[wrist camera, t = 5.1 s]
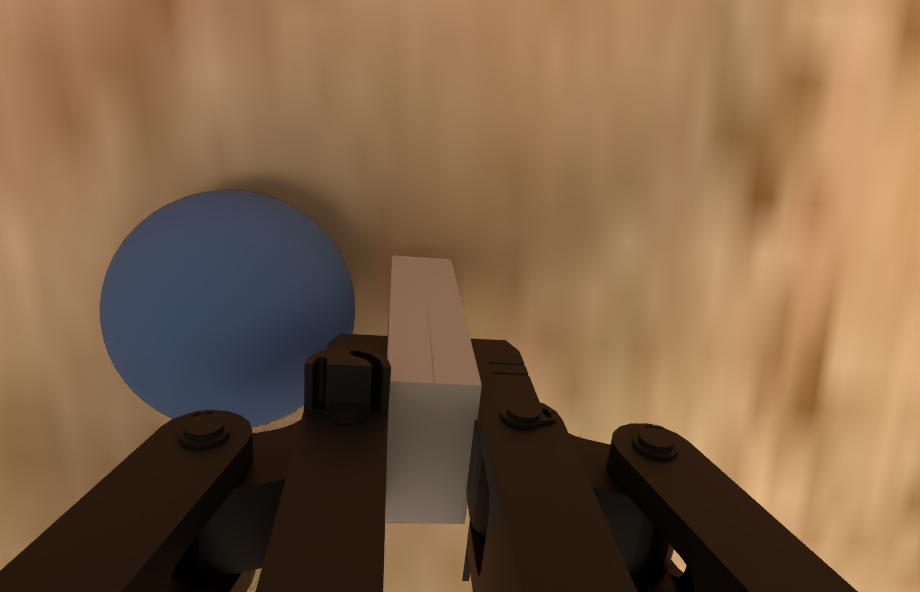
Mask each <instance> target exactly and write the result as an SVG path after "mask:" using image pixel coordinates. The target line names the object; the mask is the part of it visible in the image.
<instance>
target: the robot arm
mask: <svg viewBox="0 0 920 592" xmlns="http://www.w3.org/2000/svg"><path fill="white" fill-rule="evenodd" d="M467 502H468V508H469V515H470V524H469V532H468V540H467V548H466V555H465V563H464V571H463V579H462V581H469V577H470V573H471V581H472V589H473V592H858V591H856V590H855V589H854V588H853V587H852V586H851V585H850V584H849V583H847V582H846V581H845V580H844V579H843V578H842V577H841V576H840V575H838V574H837V573H836V572H835V571H834V570H833V569H832V568H831V567H829V566H828V565H827V564H826V563H825V562H824V561H823V560H822V559H820V558H819V557H818V556H817V555H816V554H815V553H814V552H813V551H811V550H810V549H809V548H808V547H807V546H806V545H805V544H803V543H802V542H801V541H800V540H799V539H798V538H797V537H796V536H794V535H793V534H792V533H791V532H790V531H789V530H788V529H787V528H785V527H784V526H783V525H782V524H781V523H780V522H779V521H778V520H776V519H775V518H774V517H773V516H772V515H771V514H770V513H769V512H767V511H766V510H765V509H764V508H763V507H762V506H761V505H760V504H758V503H757V502H756V501H755V500H754V499H753V498H752V497H751V496H749V495H748V494H747V493H746V492H745V491H744V490H743V489H742V488H740V487H739V486H738V485H737V484H736V483H735V482H734V481H733V480H731V479H730V478H729V477H728V476H727V475H726V474H725V473H724V472H722V471H721V470H720V469H719V468H718V467H717V466H716V465H715V464H713V463H712V462H711V461H710V460H709V459H708V458H707V457H706V456H704V455H703V454H702V453H701V452H700V451H699V450H698V449H697V448H695V447H694V446H693V445H692V444H691V443H690V442H689V441H687V440H686V439H684V438H683V437H681V436H680V435H678V434H677V433H674V432H672V431H670V430H667V429H665V428H664V427H661V426H658V425H653V424H647V423H644V424H632V423H631V424H627V425H624V426H620V427H619V428H618V429H616V430H615V431H614V432H613V435H612V440H611V444H610V445H609V444H605V443H601V442H596V441H592V440H587V439H584V438H580V437H577V436H574V435H571V434H569V433H568V431H567V429H566V427H565V425H564V422H563V420H562V418H561V417H560V416H559V415H558V413H557V412H556V411H555V410H553V409H552V408H550V407H548V406H547V405H545V404H543V403H540V402H539V399H538V397H537V394H536V392H535V389H534V387H533V384H532V382H531V379H530V377H529V376H528V372H527V369H526V367H525V366H524V362H523V359H522V357H521V354H520V352H519V351H518V350H517V349H516V348H515V347H513V346H512V345H511V344H510V343H508V342H507V341H506V340H487V339H470V335H469V331H468V327H467V323H466V319H465V315H464V311H463V306H462V302H461V298H460V294H459V290H458V286H457V282H456V278H455V274H454V269H453V265H452V261H451V259H439V258H424V257H409V256H394V255H392V266H391V282H390V298H389V314H388V330H387V336H377V335H357V334H340V335H338V336H337V337H336V338H334V339H333V340H332V341H331V342H329V343H328V345H327V349H325V350H321V351H319V352H317V353H315V354H313V355H311V356H310V357H309V358H308V359H307V361H306V362H305V363H304V412H303V416H302V419H301V420H299V421H298V422H296V423H294V424H292V425H289V426H286V427H284V428H280V429H276V430H271V431H265V432H259V433H252V428H251V425H250V422H249V421H248V420H246V419H245V418H244V417H243V416H241V415H239V414H236V413H232V412H229V411H222V410H204V411H201V410H200V411H194V412H191V413H188V414H185V415H182V416H179V417H176V418H174V419H172V420H171V421H169V422H168V423H166V424H165V425H163V426H162V427H160V428H159V429H158V430H157V431H156V432H155V433H154V434H153V435H151V436H150V437H149V438H148V439H147V440H146V441H145V442H144V443H143V444H141V445H140V446H139V447H138V448H137V449H136V450H135V451H134V452H132V453H131V454H130V455H129V456H128V457H127V458H126V459H125V460H124V461H122V462H121V463H120V464H119V465H118V466H117V467H116V468H115V469H113V470H112V471H111V472H110V473H109V474H108V475H107V476H106V477H105V478H103V479H102V480H101V481H100V482H99V483H98V484H97V485H96V486H95V487H93V488H92V489H91V490H90V491H89V492H88V493H87V494H86V495H84V496H83V497H82V498H81V499H80V500H79V501H78V502H77V503H76V504H74V505H73V506H72V507H71V508H70V509H69V510H68V511H67V512H65V513H64V514H63V515H62V516H61V517H60V518H59V519H58V520H57V521H55V522H54V523H53V524H52V525H51V526H50V527H49V528H48V529H46V530H45V531H44V532H43V533H42V534H41V535H40V536H39V537H38V538H36V539H35V540H34V541H33V542H32V543H31V544H30V545H29V546H28V547H26V548H25V549H24V550H23V551H22V552H21V553H20V554H19V555H17V556H16V557H15V558H14V559H13V560H12V561H11V562H10V563H9V564H7V565H6V566H5V567H4V568H3V569H2V570H1V571H0V592H246V591H247V590H248V588H249V586H250V585H251V583H252V580H253V577H254V574H255V569H259V568H262V570H261V574H260V578H259V581H258V585H257V589H256V592H383V575H384V541H385V522H388V523H445V524H465V516H466V508H467ZM673 550H675V551H676V552H677V553H678V554H679V555H680V557H681V558H682V559H683V561H684V562H685V564H686V565H687V566H686V569H685V571H684V573H683V572H682V571H681V570H680V569H679V568H678V567H677V566H676V565H675V564H674V563H673V561H672V560H671V558H672V554H673Z"/></svg>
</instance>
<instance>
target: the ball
mask: <svg viewBox="0 0 920 592" xmlns="http://www.w3.org/2000/svg"><path fill="white" fill-rule="evenodd" d="M354 318H355V298H354V291H353V285H352V281H351V278H350V275H349V272H348V269H347V266H346V264H345V262H344V260H343V258H342V256H341V253H340V252H339V250H338V249H337V247H336V245H335V244H334V242H333V241H332V240H331V238H330V237H329V236H328V235H327V234H326V232H325V231H324V230H323V229H322V228H321V227H320V226H319V225H318V224H317V223H315V222H314V221H313V220H312V219H311V218H310V217H308V216H307V215H305V214H304V213H303V212H301V211H300V210H298V209H297V208H295V207H293V206H291V205H289V204H287V203H285V202H283V201H281V200H278V199H276V198H273V197H271V196H267V195H263V194H259V193H256V192H249V191H241V190H217V191H208V192H201V193H198V194H194V195H190V196H186V197H184V198H182V199H179V200H177V201H174V202H172V203H169V204H167V205H165V206H164V207H162V208H160V209H158V210H157V211H155V212H153V213H152V214H151V215H150V216H148V217H147V218H146V219H145V220H143V221H142V222H141V223H140V224H139V225H138V226H136V227H135V228H134V229H133V231H132V232H131V233H130V234H129V235H128V236H127V237H126V238H125V239H124V241H123V243H122V244H121V246H120V247H119V249H118V250H117V252H116V253H115V255H114V257H113V259H112V261H111V263H110V265H109V267H108V270H107V272H106V276H105V279H104V283H103V287H102V292H101V300H100V322H101V329H102V334H103V339H104V343H105V346H106V349H107V352H108V355H109V357H110V359H111V361H112V363H113V364H114V366H115V368H116V370H117V371H118V373H119V374H120V376H121V377H122V378H123V380H124V381H125V383H126V384H127V385H128V386H129V387H130V388H131V389H132V391H133V392H134V393H135V394H136V395H138V396H139V397H140V398H141V399H142V400H143V401H144V402H146V403H147V404H148V405H150V406H151V407H153V408H154V409H155V410H157V411H159V412H161V413H162V414H164V415H166V416H168V417H170V418H173V419H174V418H176V417H179V416H182V415H185V414H188V413H191V412H194V411H200V410H201V411H204V410H222V411H229V412H232V413H236V414H239V415H241V416H243V417H244V418H245V419H246V420H248V421H249V422H250V425H251V428H252V427H256V426H260V425H264V424H267V423H270V422H272V421H275V420H278V419H280V418H283V417H285V416H287V415H289V414H291V413H293V412H295V411H296V410H298V409H299V408H301V407H302V406H303V405H304V363H305V362H306V361H307V359H308V358H309V357H310V356H311V355H313V354H315V353H317V352H319V351H321V350H325V349H327V345H328V343H329V342H331V341H332V340H333V339H334V338H336V337H337V336H338V335H340V334H352V333H353V328H354Z"/></svg>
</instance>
